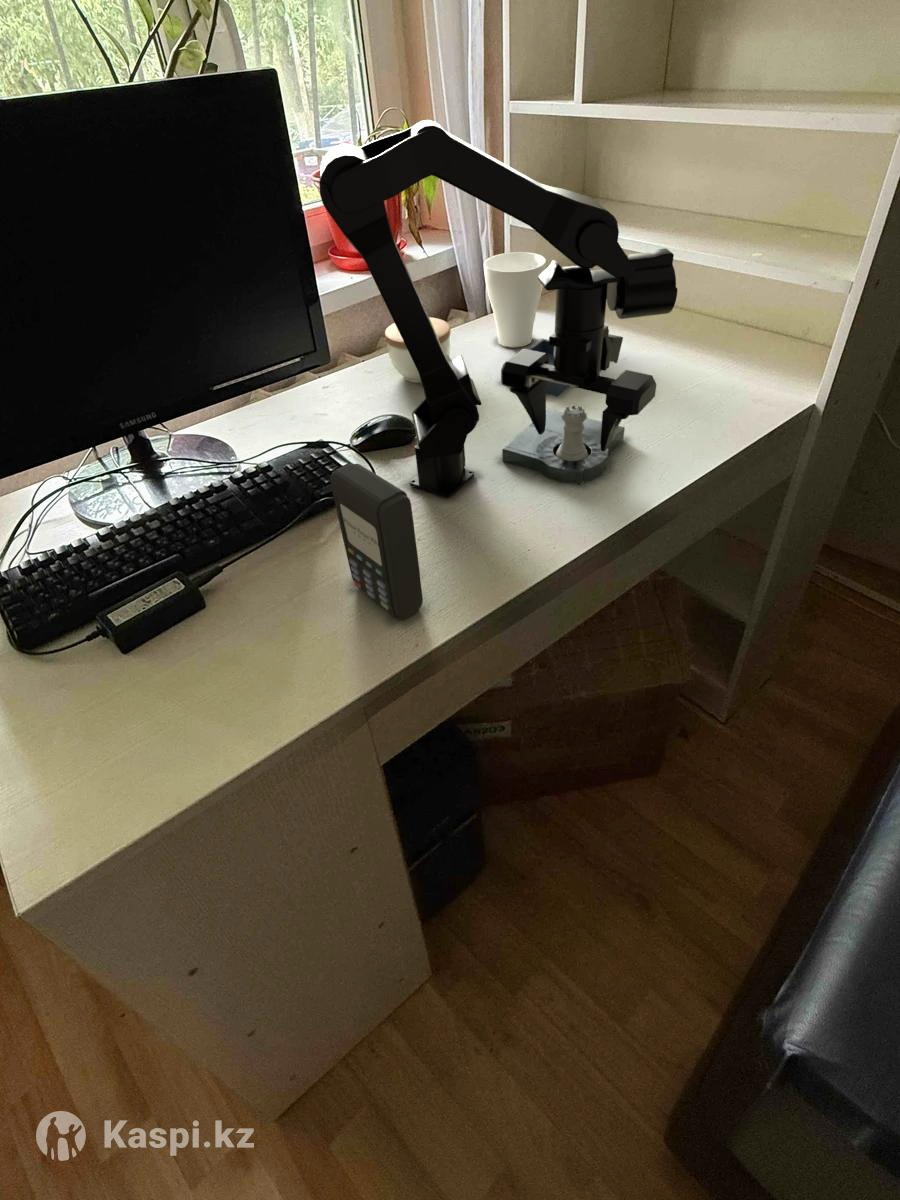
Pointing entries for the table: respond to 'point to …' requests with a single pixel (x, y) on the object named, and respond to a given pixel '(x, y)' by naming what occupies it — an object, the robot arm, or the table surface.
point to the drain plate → (542, 449)
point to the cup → (514, 294)
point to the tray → (549, 350)
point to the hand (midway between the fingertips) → (572, 441)
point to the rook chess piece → (573, 435)
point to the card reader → (378, 538)
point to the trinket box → (401, 354)
